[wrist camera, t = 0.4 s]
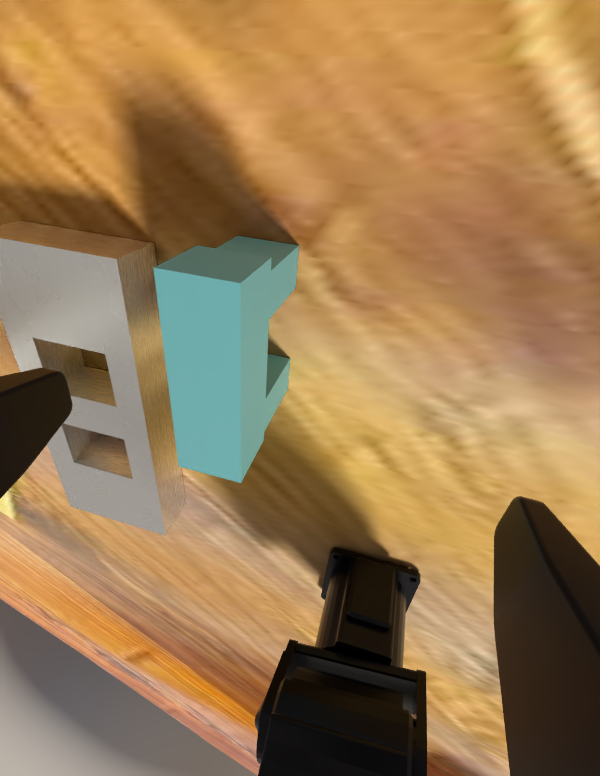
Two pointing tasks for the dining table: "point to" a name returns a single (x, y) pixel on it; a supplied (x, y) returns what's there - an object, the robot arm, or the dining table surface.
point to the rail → (91, 385)
